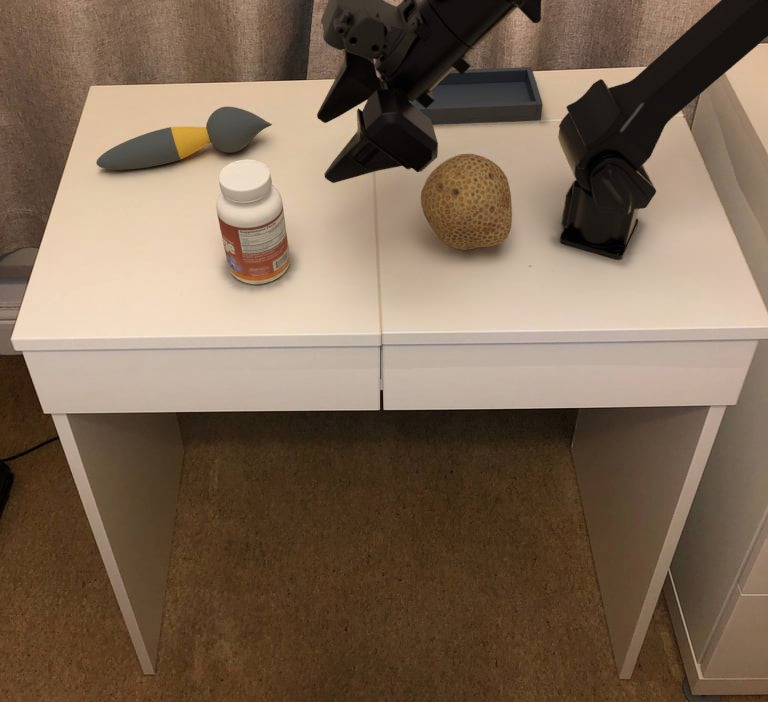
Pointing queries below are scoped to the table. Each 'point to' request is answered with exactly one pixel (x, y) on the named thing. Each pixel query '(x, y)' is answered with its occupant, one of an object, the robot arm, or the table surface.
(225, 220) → the pill bottle
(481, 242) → the natural sponge
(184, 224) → the table surface
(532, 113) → the tray
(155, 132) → the paintbrush
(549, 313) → the table surface
